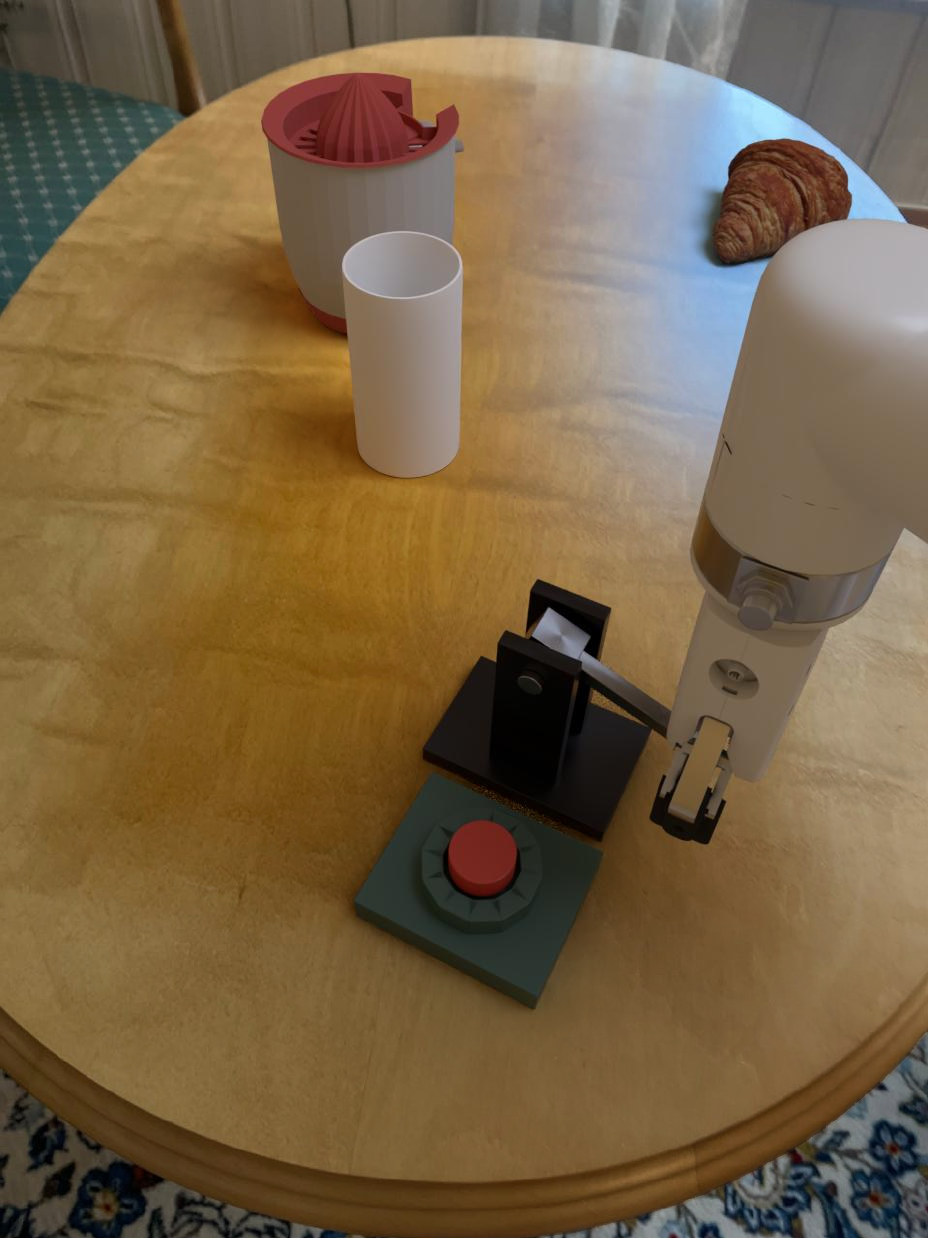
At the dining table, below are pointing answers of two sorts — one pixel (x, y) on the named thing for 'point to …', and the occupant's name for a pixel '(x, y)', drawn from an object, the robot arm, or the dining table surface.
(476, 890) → the button
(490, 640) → the dining table surface
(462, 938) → the button box
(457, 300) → the cup
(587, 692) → the bracket
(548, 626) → the lever
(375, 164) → the citrus juicer
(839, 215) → the pastry
